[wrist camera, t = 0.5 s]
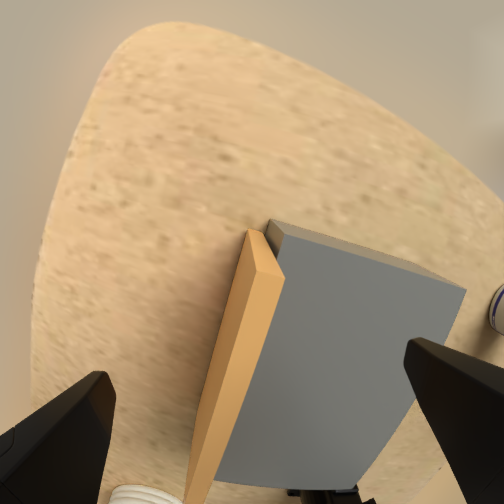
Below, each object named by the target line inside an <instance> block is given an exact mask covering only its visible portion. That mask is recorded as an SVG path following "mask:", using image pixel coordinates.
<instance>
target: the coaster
mask: <svg viewBox="0 0 504 504" xmlns="http://www.w3.org/2000/svg"><path fill="white" fill-rule="evenodd" d="M108 504H183V502H182V501H181V500H179V499H178V498H176V497H175V496H173V495H171V494H169V493H167V492H165V491H162V490H159V489H156V488H153V487H149V486H144V485H137V484H126V485H120V486H118V487H116V488H115V489H114V490H113V492H112V496H111V497H110V502H109V503H108Z"/></svg>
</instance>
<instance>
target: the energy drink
mask: <svg viewBox="0 0 504 504" xmlns="http://www.w3.org/2000/svg"><path fill="white" fill-rule="evenodd" d="M489 318H490V324H491V326H492V328H493V329H494V330H496V331H497V332H499V333H501V334H502V335H504V285H503V286H501V287H500V289H499V290H498V291H497V292H496V294H495V296H494V298H493V300H492V303H491V306H490V312H489Z"/></svg>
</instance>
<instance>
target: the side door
mask: <svg viewBox="0 0 504 504" xmlns="http://www.w3.org/2000/svg"><path fill="white" fill-rule="evenodd" d="M284 281H285V277H284V275H283V273H282V271H281V269H280V267H279V265H278V263H277V261H276V259H275V257H274V255H273V253H272V251H271V249H270V247H269V245H268V243H267V241H266V239H265V237H264V235H263V233H262V232H259V231H256V230H252V229H249V228H248V230H247V233H246V237H245V240H244V244H243V247H242V251H241V254H240V258H239V261H238V265H237V268H236V272H235V276H234V279H233V283H232V286H231V290H230V293H229V297H228V301H227V304H226V308H225V311H224V315H223V319H222V322H221V326H220V329H219V333H218V337H217V340H216V344H215V347H214V351H213V355H212V358H211V362H210V366H209V369H208V373H207V377H206V380H205V384H204V388H203V391H202V395H201V399H200V403H199V406H198V410H197V416H196V422H195V428H194V434H193V440H192V446H191V453H190V459H189V466H188V472H187V479H186V486H185V493H184V499H183V504H203V503H204V501H205V499H206V496H207V494H208V491H209V489H210V486H211V484H212V481H213V479H214V476H215V474H216V471H217V469H218V466H219V464H220V461H221V459H222V456H223V454H224V451H225V448H226V446H227V443H228V441H229V438H230V435H231V433H232V430H233V427H234V425H235V422H236V419H237V417H238V414H239V411H240V409H241V406H242V403H243V401H244V398H245V395H246V392H247V389H248V387H249V384H250V381H251V378H252V376H253V373H254V370H255V367H256V364H257V361H258V359H259V356H260V353H261V350H262V347H263V344H264V341H265V338H266V335H267V332H268V329H269V326H270V323H271V321H272V318H273V315H274V312H275V309H276V305H277V302H278V299H279V296H280V293H281V290H282V287H283V284H284Z"/></svg>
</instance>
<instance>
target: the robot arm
mask: <svg viewBox="0 0 504 504" xmlns="http://www.w3.org/2000/svg"><path fill="white" fill-rule="evenodd" d="M403 365H404V369H405V371H406V374H407V376H408V379H409V381H410V384H411V386H412V389H413V391H414V394H415V396H416V399H417V401H418V403H419V406H420V408H421V410H422V412H423V413H424V415H425V417H426V419H427V421H428V423H429V425H430V427H431V429H432V431H433V433H434V435H435V437H436V439H437V441H438V443H439V445H440V447H441V449H442V451H443V453H444V455H445V457H446V459H447V461H448V463H449V464H450V467H451V469H452V471H453V474H454V476H455V478H456V480H457V482H458V484H459V486H460V489H461V491H462V493H463V495H464V498H465V500H466V502H467V504H504V368H501V367H498V366H496V365H493V364H490V363H488V362H485V361H482V360H480V359H477V358H474V357H472V356H469V355H466V354H464V353H461V352H459V351H456V350H453V349H451V348H448V347H446V346H443V345H440V344H438V343H435V342H433V341H430V340H427V339H425V338H422V337H417V338H413V339H410V340H409V341H408V342H407V346H406V351H405V356H404V360H403ZM115 403H116V393H115V390H114V387H113V385H112V383H111V380H110V378H109V375H108V374H107V372H105V371H93V372H91V373H90V374H88V375H87V376H85V377H84V378H83V379H81V380H80V381H78V382H77V383H75V384H74V385H73V386H71V387H70V388H68V389H67V390H65V391H64V392H63V393H61V394H60V395H58V396H57V397H55V398H54V399H53V400H51V401H50V402H48V403H47V404H45V405H44V406H43V407H41V408H40V409H38V410H37V411H35V412H34V413H33V414H31V415H30V416H28V417H27V418H25V419H24V420H22V421H21V422H20V423H18V424H17V425H15V427H12V428H11V429H9V430H8V431H7V432H5V433H4V434H2V435H1V436H0V504H97V501H98V496H99V490H100V485H101V481H102V476H103V471H104V466H105V462H106V458H107V453H108V449H109V445H110V440H111V433H112V425H113V417H114V410H115ZM358 491H359V489H358V486H357V483H356V485H355V486H354V487H353V488H352V489H343V490H304V489H289V490H288V491H287V494H288V496H298V497H300V498H301V503H302V504H376V502H375V500H374V498H372V499H369V500H368V501H366V502H363V503H362V501H361V498H360V495H359V493H358Z"/></svg>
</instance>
